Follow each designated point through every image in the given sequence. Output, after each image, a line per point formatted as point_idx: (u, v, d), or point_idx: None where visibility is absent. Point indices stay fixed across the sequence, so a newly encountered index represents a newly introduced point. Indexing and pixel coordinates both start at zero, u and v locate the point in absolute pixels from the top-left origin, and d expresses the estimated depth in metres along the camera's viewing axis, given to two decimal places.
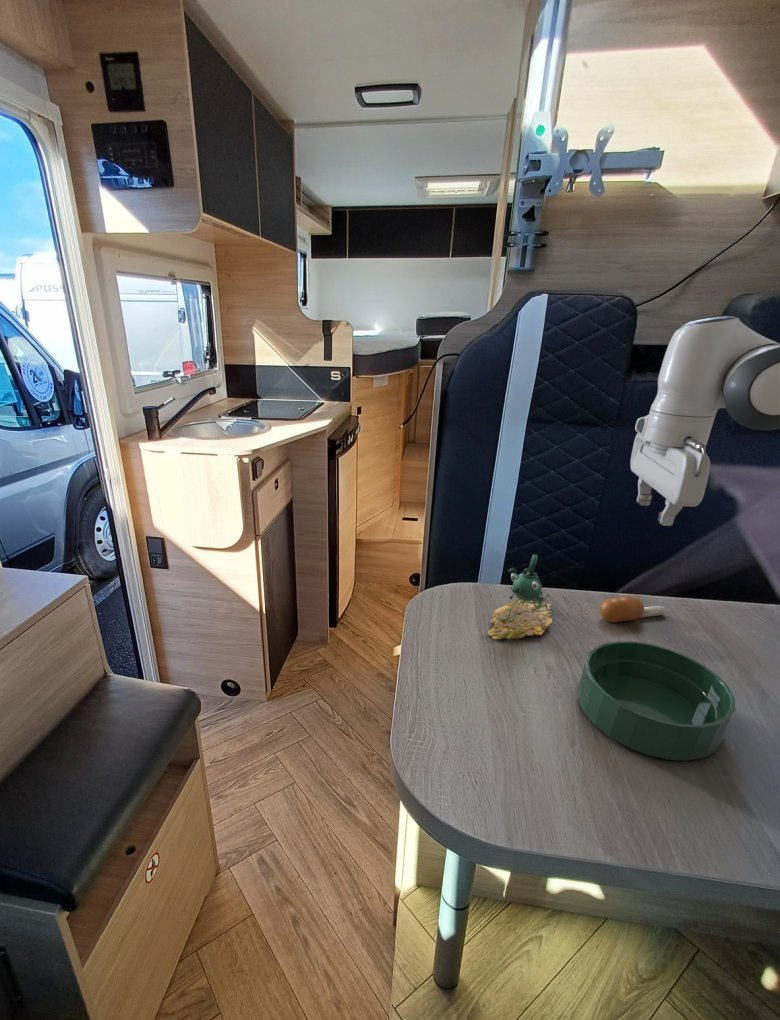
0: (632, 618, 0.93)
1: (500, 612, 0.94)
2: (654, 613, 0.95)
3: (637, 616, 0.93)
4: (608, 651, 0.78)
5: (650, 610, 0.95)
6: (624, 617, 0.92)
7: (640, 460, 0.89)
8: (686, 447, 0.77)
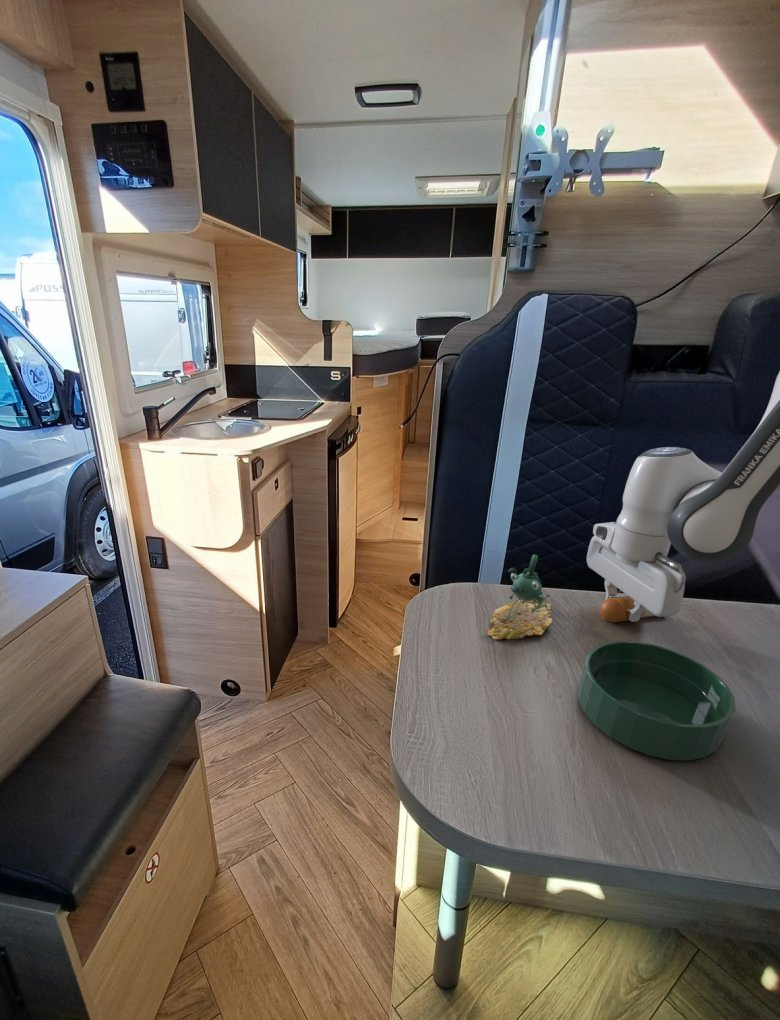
0: None
1: (500, 612, 0.94)
2: None
3: None
4: (608, 651, 0.78)
5: None
6: (624, 617, 0.92)
7: (601, 561, 0.96)
8: (658, 562, 0.84)
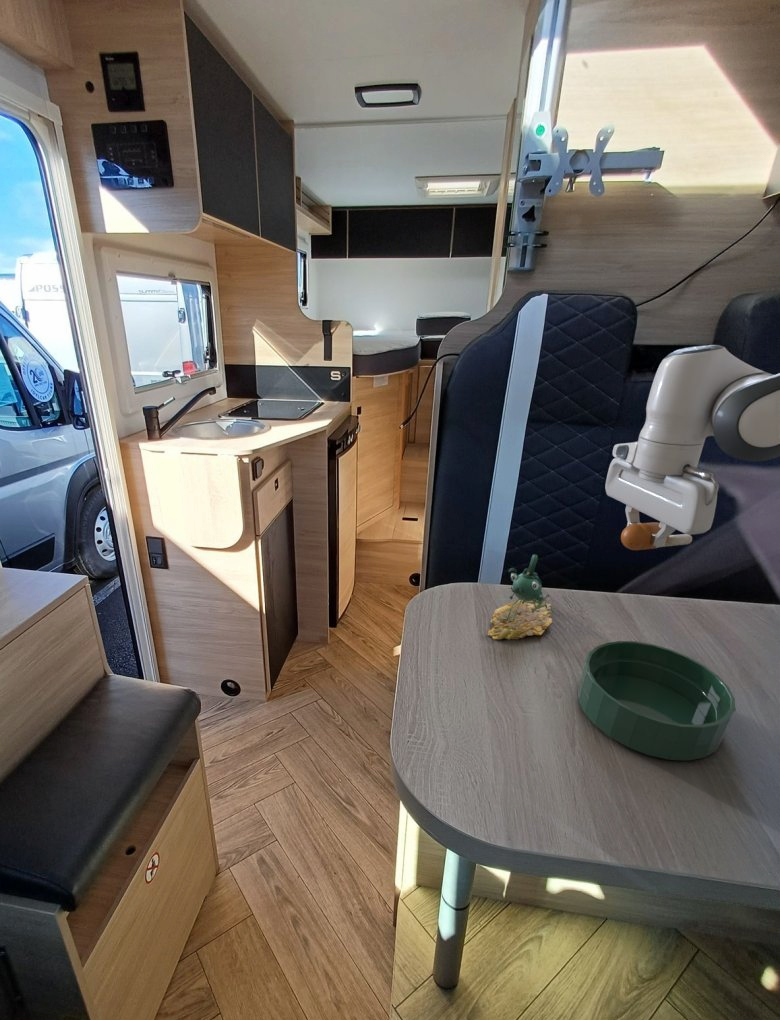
0: None
1: (500, 612, 0.94)
2: (680, 541, 0.88)
3: None
4: (608, 651, 0.78)
5: (676, 538, 0.88)
6: (648, 543, 0.85)
7: (622, 485, 0.88)
8: (687, 475, 0.77)
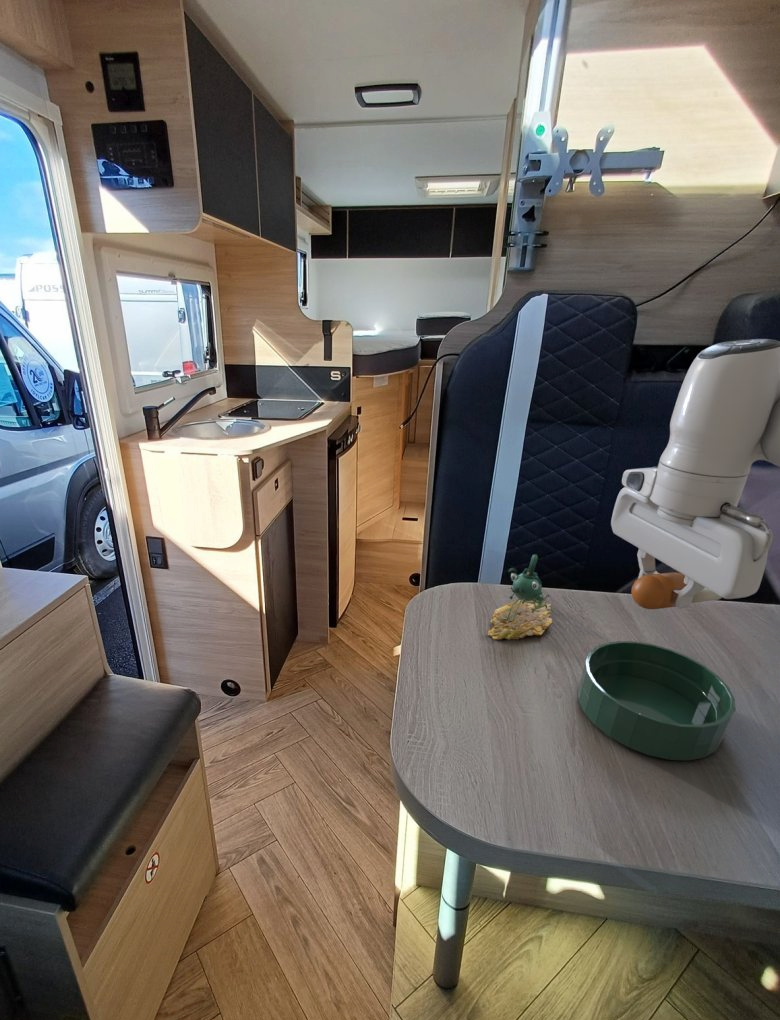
0: None
1: (500, 612, 0.94)
2: (708, 597, 0.67)
3: None
4: (608, 651, 0.78)
5: (703, 593, 0.67)
6: (668, 602, 0.64)
7: (633, 523, 0.68)
8: (725, 518, 0.56)
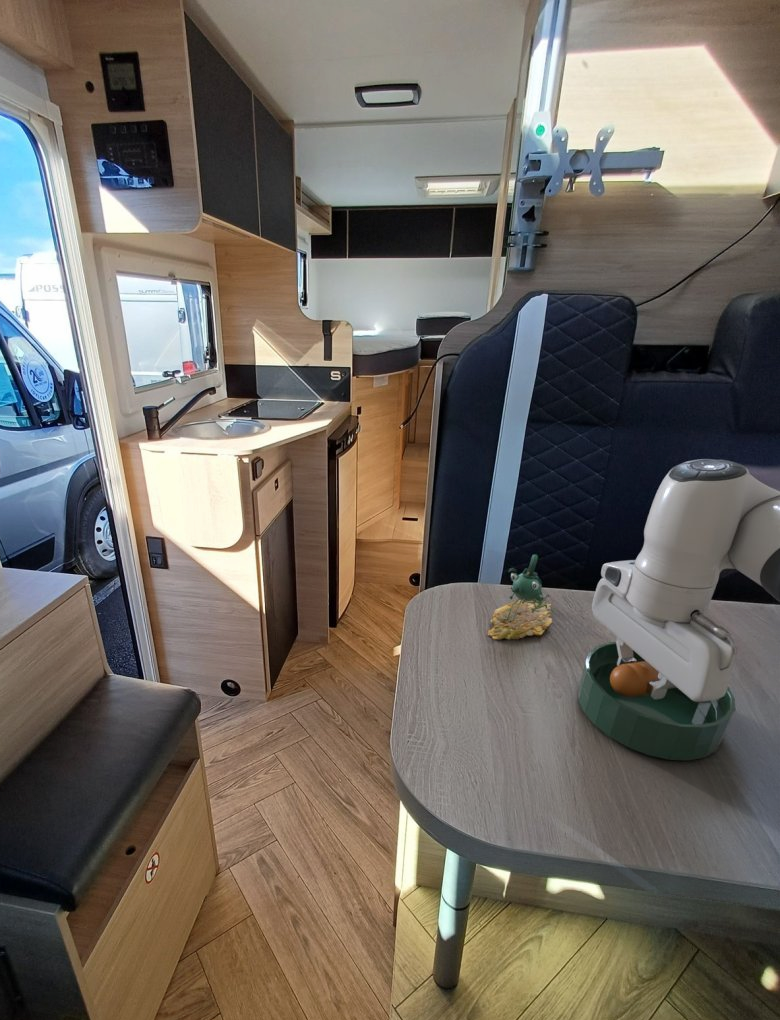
0: None
1: (500, 612, 0.94)
2: None
3: None
4: (608, 651, 0.78)
5: None
6: (643, 692, 0.68)
7: (612, 612, 0.71)
8: (695, 625, 0.60)
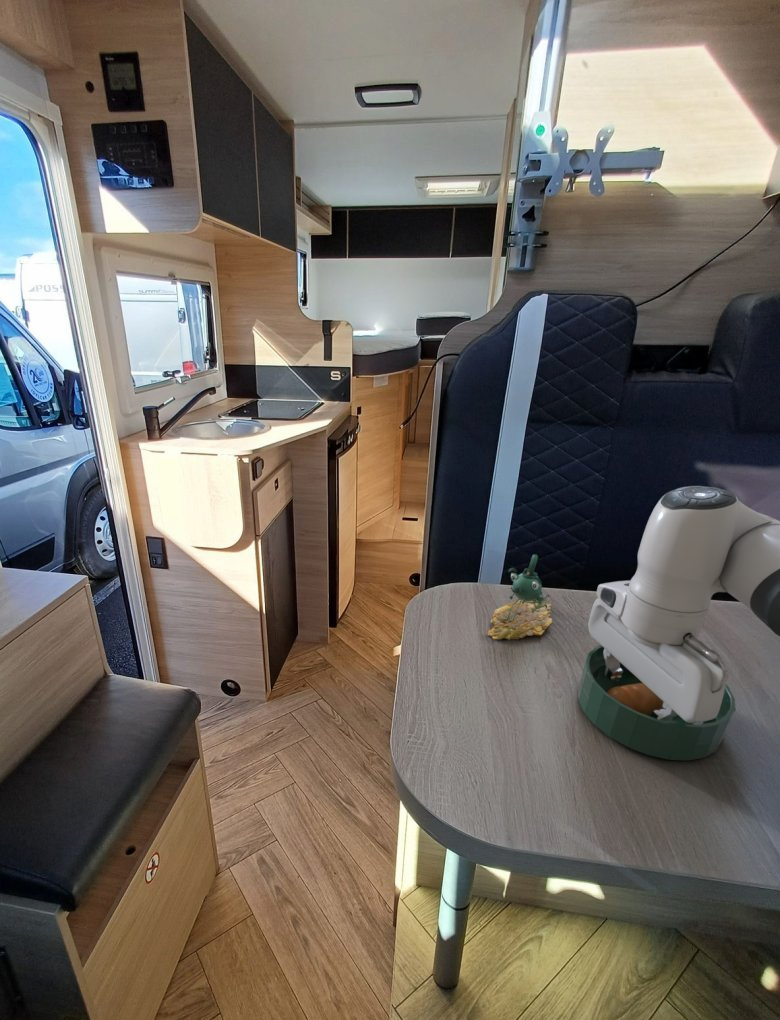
0: (647, 714, 0.70)
1: (500, 612, 0.94)
2: None
3: None
4: None
5: None
6: None
7: (607, 632, 0.73)
8: (687, 647, 0.61)
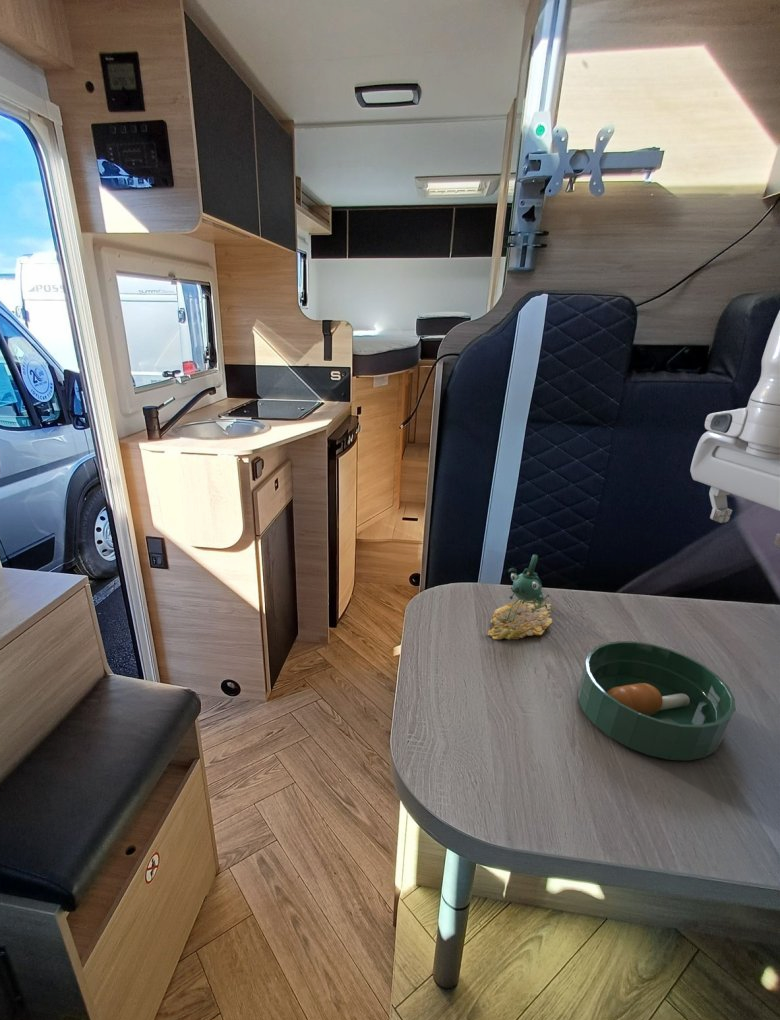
0: None
1: (500, 612, 0.94)
2: (675, 705, 0.72)
3: (654, 712, 0.70)
4: (608, 651, 0.78)
5: (670, 701, 0.72)
6: None
7: (717, 466, 0.69)
8: None
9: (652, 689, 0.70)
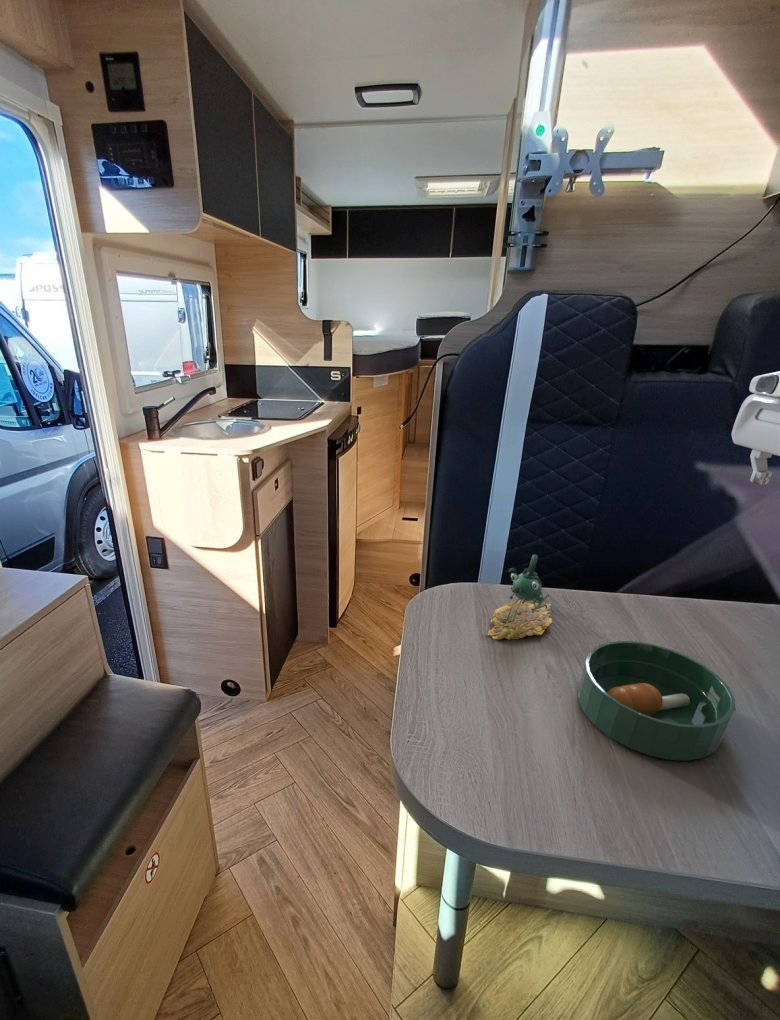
0: None
1: (500, 612, 0.94)
2: (675, 705, 0.72)
3: (654, 712, 0.70)
4: (608, 651, 0.78)
5: (670, 701, 0.72)
6: None
7: (760, 429, 0.71)
8: None
9: (652, 689, 0.70)
